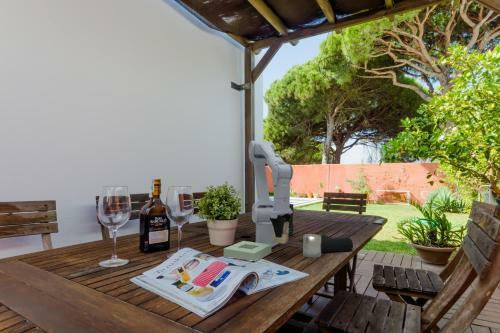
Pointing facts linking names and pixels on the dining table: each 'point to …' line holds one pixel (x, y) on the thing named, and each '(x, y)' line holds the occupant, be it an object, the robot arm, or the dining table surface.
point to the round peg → (312, 245)
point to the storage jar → (291, 223)
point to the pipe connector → (335, 244)
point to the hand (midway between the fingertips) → (281, 236)
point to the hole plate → (248, 250)
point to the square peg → (284, 235)
